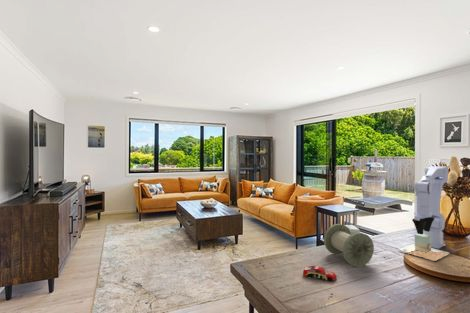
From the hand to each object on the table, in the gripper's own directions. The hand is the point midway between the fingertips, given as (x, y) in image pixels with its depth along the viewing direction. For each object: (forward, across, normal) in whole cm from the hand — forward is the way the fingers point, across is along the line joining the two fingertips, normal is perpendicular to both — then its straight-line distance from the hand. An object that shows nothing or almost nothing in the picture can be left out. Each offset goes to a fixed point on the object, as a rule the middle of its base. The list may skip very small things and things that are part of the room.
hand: (423, 232), depth 133 cm
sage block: (+5, 0, 0) cm, 5 cm away
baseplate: (+10, 0, 0) cm, 10 cm away
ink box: (+11, +24, -24) cm, 36 cm away
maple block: (+9, 0, 0) cm, 9 cm away
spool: (+11, +38, -17) cm, 43 cm away
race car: (+11, +64, -13) cm, 66 cm away
